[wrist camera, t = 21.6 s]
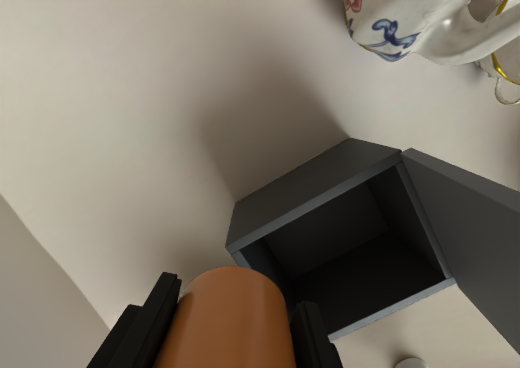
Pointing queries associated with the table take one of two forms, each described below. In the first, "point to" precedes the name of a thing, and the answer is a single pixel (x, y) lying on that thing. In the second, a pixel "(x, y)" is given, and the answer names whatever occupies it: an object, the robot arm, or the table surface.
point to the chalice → (412, 363)
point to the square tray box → (342, 237)
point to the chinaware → (440, 34)
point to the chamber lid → (474, 235)
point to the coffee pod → (228, 324)
